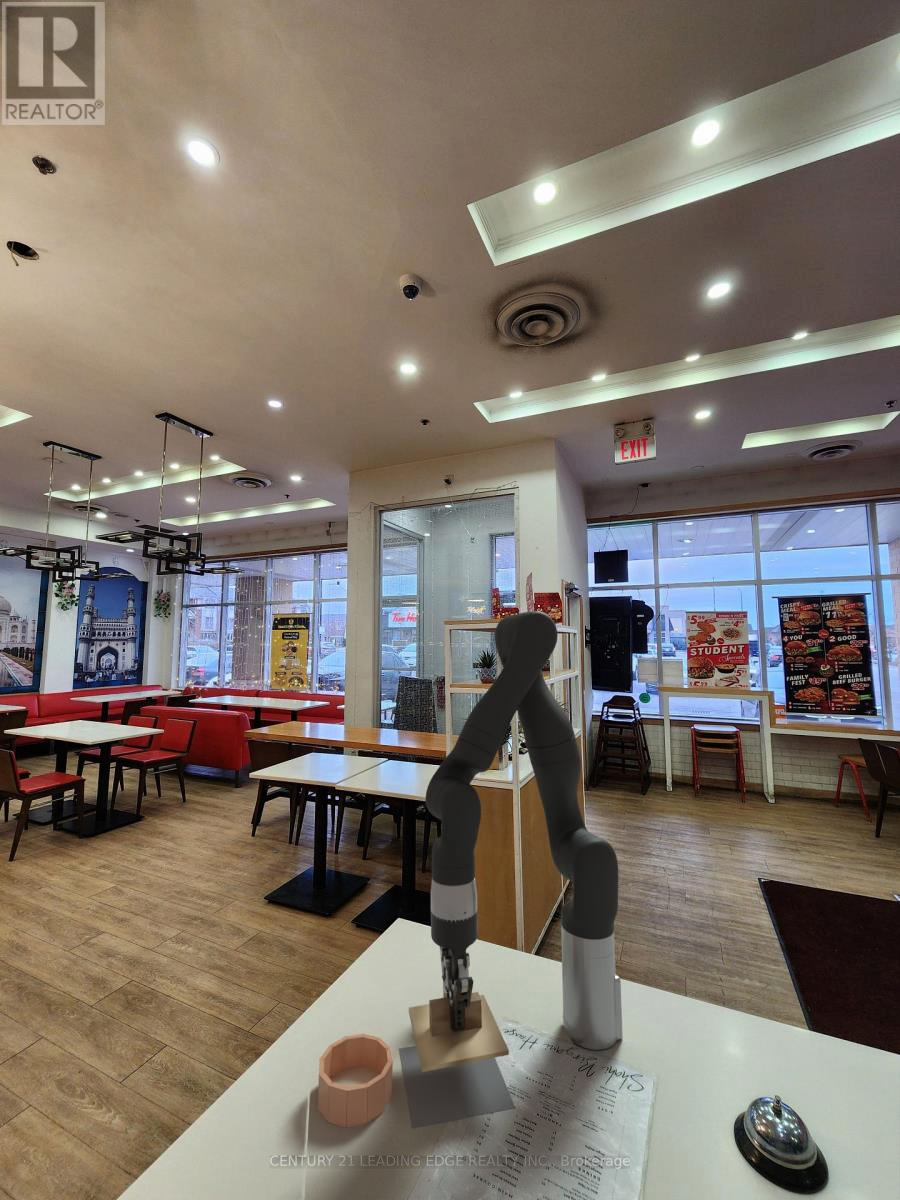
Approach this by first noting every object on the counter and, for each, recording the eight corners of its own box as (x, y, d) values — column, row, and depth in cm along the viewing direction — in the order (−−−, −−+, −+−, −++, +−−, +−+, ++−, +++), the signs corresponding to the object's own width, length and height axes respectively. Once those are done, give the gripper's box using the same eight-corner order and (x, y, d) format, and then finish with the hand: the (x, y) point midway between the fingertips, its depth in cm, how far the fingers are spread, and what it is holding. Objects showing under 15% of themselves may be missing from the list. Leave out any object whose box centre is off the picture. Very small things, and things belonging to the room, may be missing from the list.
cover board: (483, 998, 88) (482, 969, 88) (508, 1054, 75) (508, 1020, 76) (408, 1011, 85) (408, 981, 85) (422, 1072, 72) (421, 1036, 73)
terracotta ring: (387, 1063, 82) (387, 1029, 83) (395, 1121, 72) (395, 1082, 72) (318, 1075, 80) (320, 1040, 80) (316, 1136, 69) (318, 1095, 70)
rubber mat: (485, 1037, 88) (485, 1034, 88) (515, 1111, 73) (515, 1107, 73) (398, 1051, 85) (398, 1048, 85) (412, 1132, 70) (412, 1128, 70)
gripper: (489, 924, 76) (492, 1051, 74) (465, 885, 90) (467, 992, 88) (440, 931, 75) (441, 1061, 72) (423, 890, 88) (424, 999, 86)
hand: (455, 1023), depth 80 cm, fingers closed on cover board
